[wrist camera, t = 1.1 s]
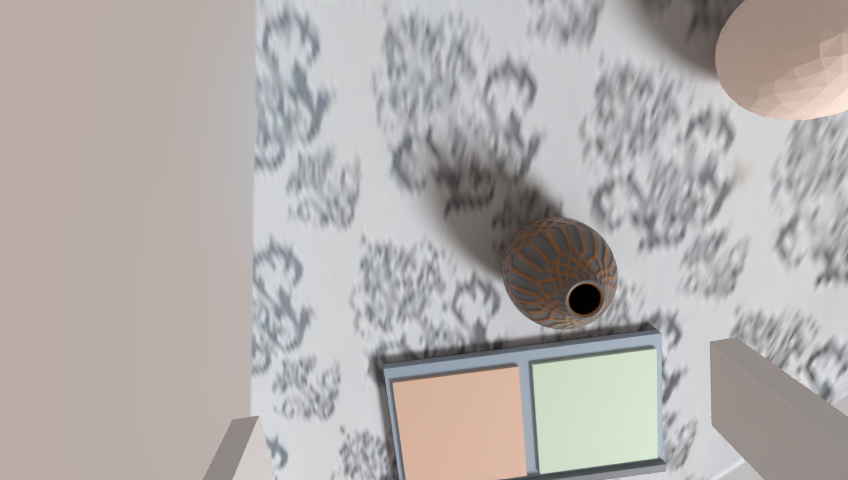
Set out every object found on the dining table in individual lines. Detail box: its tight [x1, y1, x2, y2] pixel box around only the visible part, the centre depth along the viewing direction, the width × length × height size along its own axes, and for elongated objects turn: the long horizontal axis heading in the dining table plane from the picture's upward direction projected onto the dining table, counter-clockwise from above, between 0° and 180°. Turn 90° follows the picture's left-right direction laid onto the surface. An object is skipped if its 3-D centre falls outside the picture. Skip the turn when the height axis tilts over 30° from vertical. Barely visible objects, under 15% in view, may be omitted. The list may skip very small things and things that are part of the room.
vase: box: [502, 217, 618, 330], centre depth 35 cm, size 7×7×9 cm
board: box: [384, 329, 666, 480], centre depth 41 cm, size 11×20×1 cm, turn 96°
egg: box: [715, 0, 848, 120], centre depth 31 cm, size 8×8×11 cm
